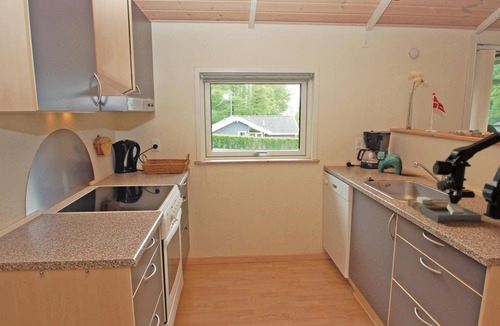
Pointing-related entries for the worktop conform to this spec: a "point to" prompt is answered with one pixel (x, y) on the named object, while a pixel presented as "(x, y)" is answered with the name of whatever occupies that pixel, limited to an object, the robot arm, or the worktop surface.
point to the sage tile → (424, 200)
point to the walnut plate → (429, 205)
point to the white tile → (455, 209)
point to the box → (452, 216)
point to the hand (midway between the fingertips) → (452, 207)
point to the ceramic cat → (389, 162)
